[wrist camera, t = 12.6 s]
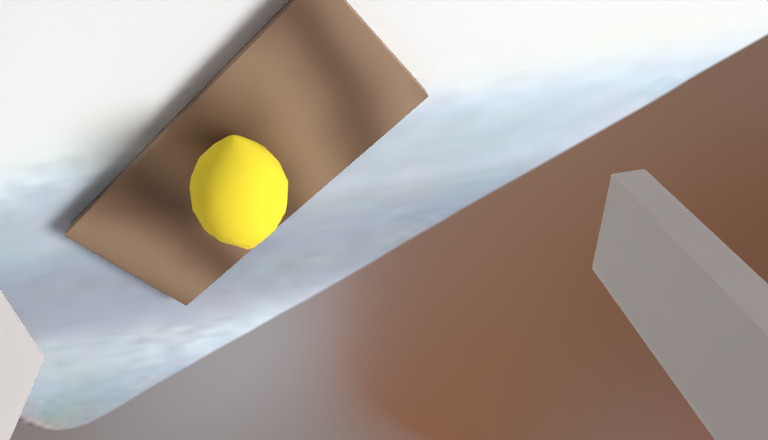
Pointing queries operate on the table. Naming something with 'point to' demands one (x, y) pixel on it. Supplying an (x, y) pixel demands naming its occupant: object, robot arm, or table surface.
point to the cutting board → (260, 124)
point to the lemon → (239, 191)
